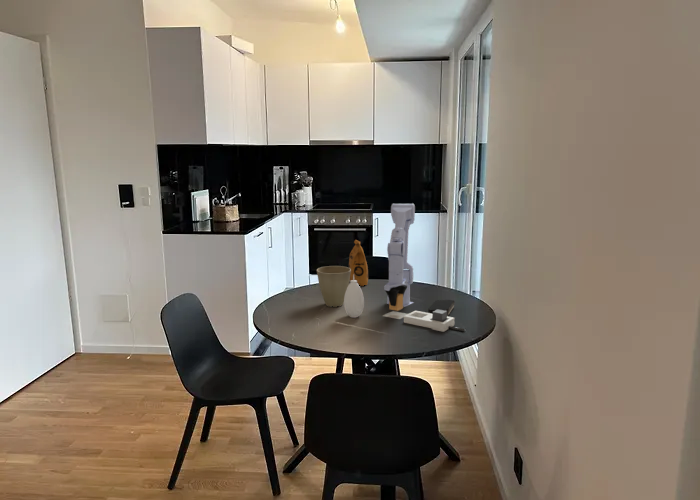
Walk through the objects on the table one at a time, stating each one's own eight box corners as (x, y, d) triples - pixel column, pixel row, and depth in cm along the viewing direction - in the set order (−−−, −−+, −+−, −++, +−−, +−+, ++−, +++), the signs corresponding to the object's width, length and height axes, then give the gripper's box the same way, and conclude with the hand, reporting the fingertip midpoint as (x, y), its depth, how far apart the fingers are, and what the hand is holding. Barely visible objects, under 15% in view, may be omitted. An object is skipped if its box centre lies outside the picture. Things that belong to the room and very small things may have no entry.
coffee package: (349, 286, 258) (348, 243, 254) (348, 281, 270) (347, 239, 266) (368, 286, 258) (368, 243, 254) (367, 280, 270) (367, 239, 266)
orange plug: (389, 309, 208) (389, 294, 207) (394, 306, 211) (394, 292, 210) (397, 310, 205) (397, 296, 204) (402, 308, 209) (402, 294, 208)
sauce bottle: (354, 313, 213) (353, 271, 210) (367, 317, 208) (367, 273, 204) (340, 317, 208) (339, 274, 205) (354, 321, 202) (353, 277, 199)
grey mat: (382, 316, 208) (382, 315, 208) (392, 312, 214) (392, 310, 214) (399, 320, 203) (399, 319, 203) (409, 315, 209) (409, 314, 209)
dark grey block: (432, 327, 195) (432, 311, 194) (437, 324, 198) (437, 309, 197) (441, 329, 192) (442, 313, 191) (446, 326, 195) (446, 311, 194)
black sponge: (447, 318, 205) (447, 310, 204) (426, 316, 208) (427, 308, 208) (455, 308, 220) (455, 299, 219) (435, 306, 223) (435, 298, 222)
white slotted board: (403, 323, 199) (403, 316, 199) (415, 317, 206) (415, 310, 206) (458, 334, 186) (459, 326, 185) (469, 328, 193) (469, 320, 192)
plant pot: (311, 307, 222) (310, 271, 219) (326, 299, 236) (325, 265, 233) (343, 311, 217) (343, 274, 214) (356, 301, 230) (356, 267, 227)
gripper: (395, 276, 197) (395, 310, 200) (413, 269, 209) (413, 301, 211) (379, 273, 201) (379, 307, 204) (398, 267, 213) (398, 298, 215)
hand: (396, 304), depth 208 cm, fingers closed on orange plug, 4 cm apart
